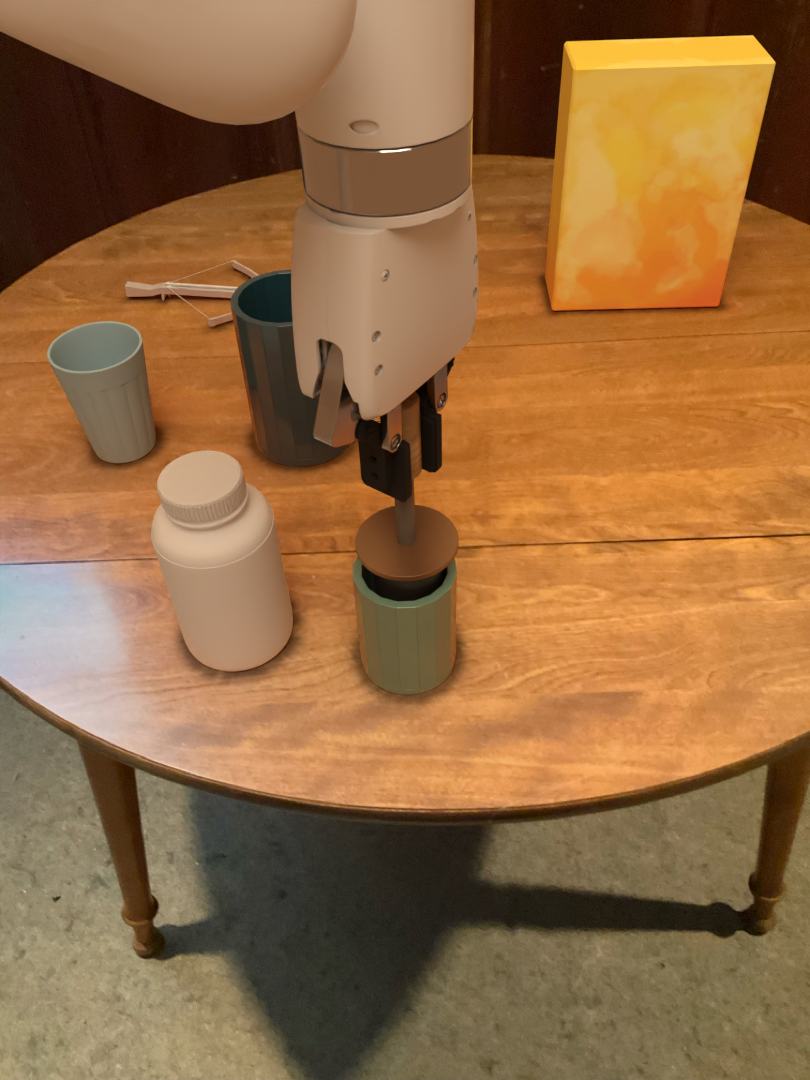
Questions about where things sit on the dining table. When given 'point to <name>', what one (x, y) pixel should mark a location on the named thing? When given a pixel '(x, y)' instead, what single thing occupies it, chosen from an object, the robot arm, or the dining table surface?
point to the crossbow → (190, 290)
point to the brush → (407, 533)
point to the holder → (406, 634)
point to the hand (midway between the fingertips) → (402, 474)
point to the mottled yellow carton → (652, 169)
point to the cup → (107, 387)
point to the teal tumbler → (275, 373)
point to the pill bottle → (221, 562)
